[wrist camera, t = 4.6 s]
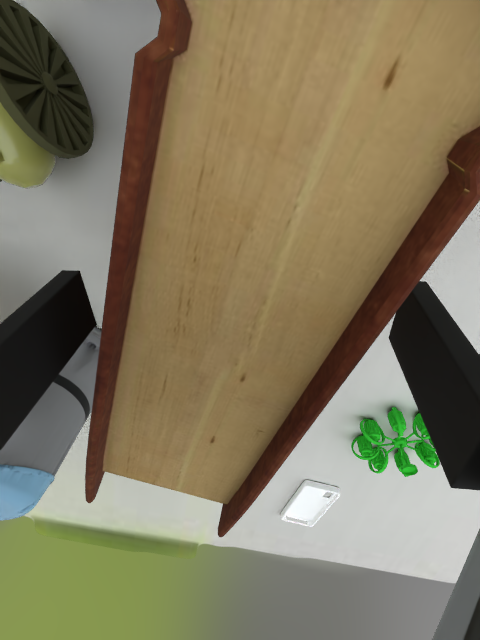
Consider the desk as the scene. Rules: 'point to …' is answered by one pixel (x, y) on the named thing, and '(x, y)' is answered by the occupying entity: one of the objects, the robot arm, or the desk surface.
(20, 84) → the cannon
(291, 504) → the phone case
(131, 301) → the decorative book
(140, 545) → the desk surface
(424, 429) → the chandelier
